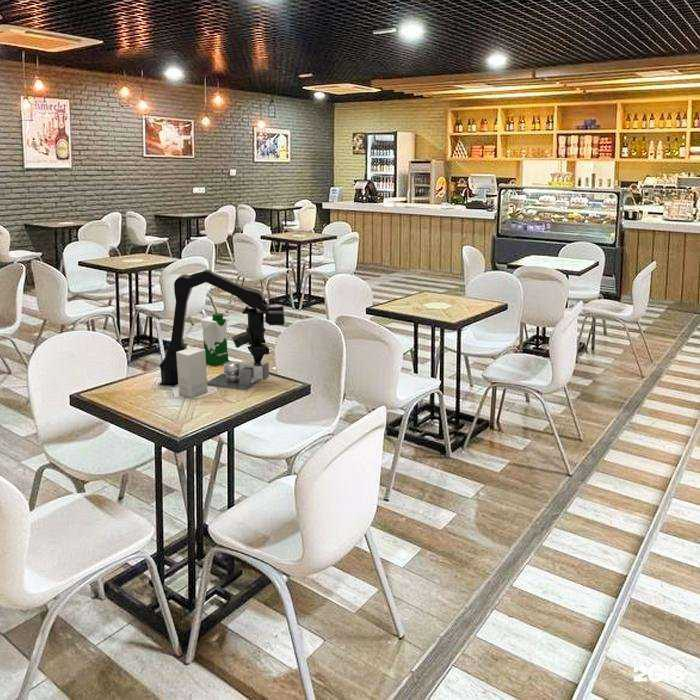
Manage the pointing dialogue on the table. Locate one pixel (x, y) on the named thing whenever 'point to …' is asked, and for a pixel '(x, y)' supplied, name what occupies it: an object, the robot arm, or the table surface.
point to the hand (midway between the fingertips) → (257, 366)
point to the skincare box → (192, 372)
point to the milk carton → (215, 339)
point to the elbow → (256, 368)
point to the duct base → (229, 384)
